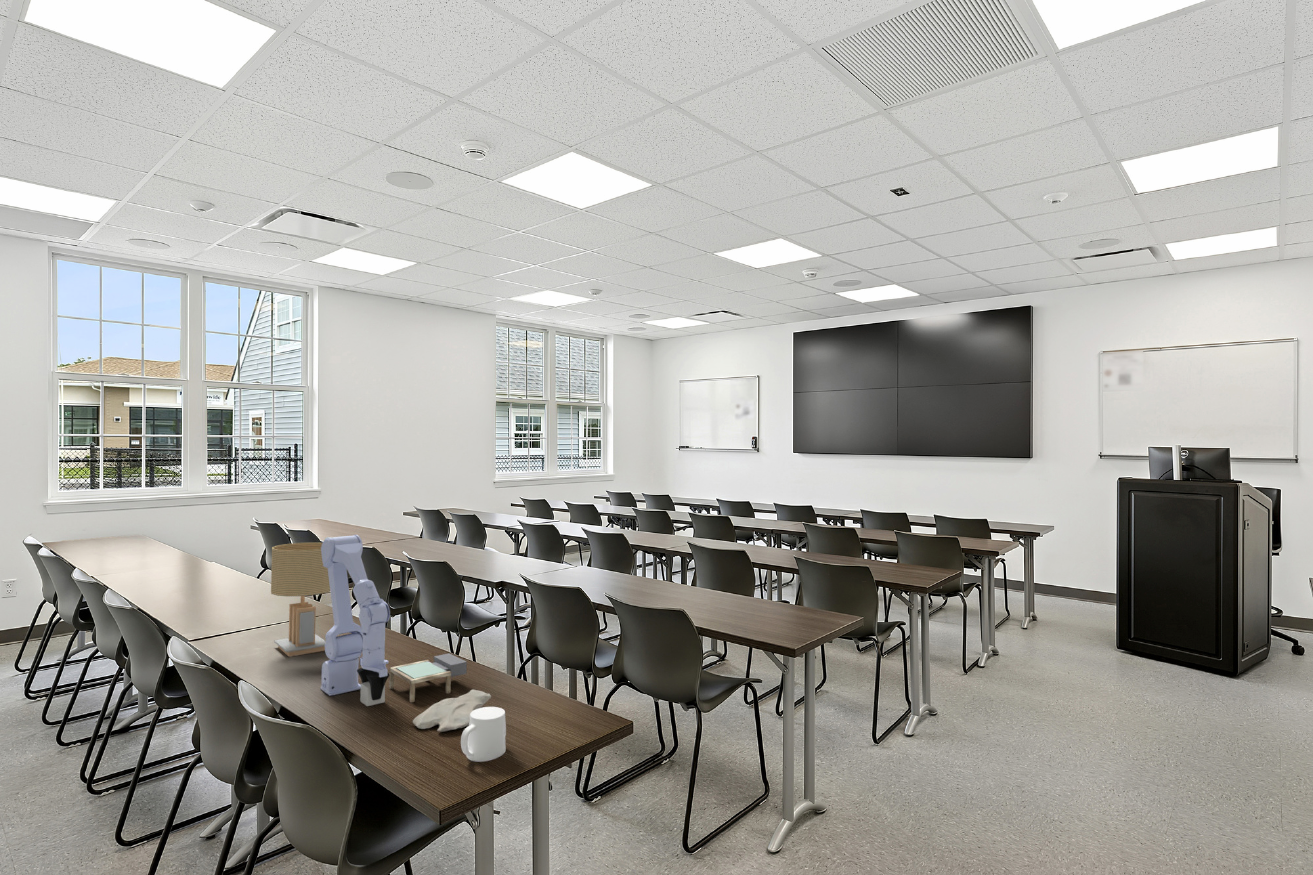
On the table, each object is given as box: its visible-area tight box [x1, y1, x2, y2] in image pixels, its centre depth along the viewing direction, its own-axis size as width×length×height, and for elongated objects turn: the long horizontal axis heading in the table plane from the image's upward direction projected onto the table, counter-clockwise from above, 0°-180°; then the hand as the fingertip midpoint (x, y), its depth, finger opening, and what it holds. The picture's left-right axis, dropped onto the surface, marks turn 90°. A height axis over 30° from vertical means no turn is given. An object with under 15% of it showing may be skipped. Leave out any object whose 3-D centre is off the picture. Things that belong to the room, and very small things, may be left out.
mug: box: [460, 706, 507, 763], centre depth 163 cm, size 12×9×8 cm
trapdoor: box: [396, 653, 468, 679], centre depth 207 cm, size 16×12×4 cm
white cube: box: [359, 682, 386, 707], centre depth 195 cm, size 5×5×5 cm
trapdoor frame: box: [388, 659, 452, 703], centre depth 204 cm, size 12×15×6 cm
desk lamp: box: [270, 542, 330, 658], centre depth 242 cm, size 20×20×35 cm
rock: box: [412, 689, 492, 733], centre depth 182 cm, size 21×5×15 cm
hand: (372, 696), depth 195 cm, fingers closed on white cube, 5 cm apart
